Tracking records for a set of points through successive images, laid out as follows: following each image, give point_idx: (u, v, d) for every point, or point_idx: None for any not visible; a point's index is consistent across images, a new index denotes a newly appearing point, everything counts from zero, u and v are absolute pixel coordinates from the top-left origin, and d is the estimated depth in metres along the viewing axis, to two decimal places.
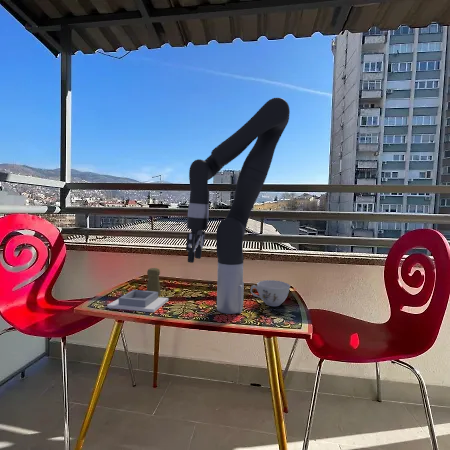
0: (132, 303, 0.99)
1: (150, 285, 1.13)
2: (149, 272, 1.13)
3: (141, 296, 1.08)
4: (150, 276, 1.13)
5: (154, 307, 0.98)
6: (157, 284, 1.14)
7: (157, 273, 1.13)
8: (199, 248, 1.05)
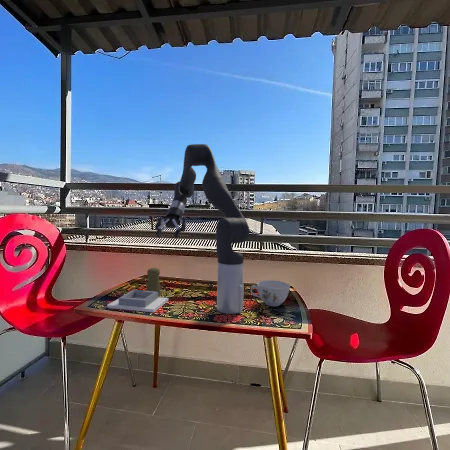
0: (132, 303, 0.99)
1: (150, 285, 1.13)
2: (149, 272, 1.13)
3: (141, 296, 1.08)
4: (150, 276, 1.13)
5: (154, 307, 0.98)
6: (157, 284, 1.14)
7: (157, 273, 1.13)
8: None
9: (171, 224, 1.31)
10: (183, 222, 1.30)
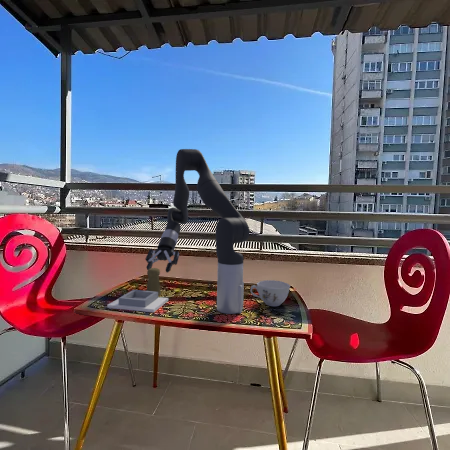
0: (132, 303, 0.99)
1: (150, 285, 1.13)
2: (149, 272, 1.13)
3: (141, 296, 1.08)
4: (150, 276, 1.13)
5: (154, 307, 0.98)
6: (157, 284, 1.14)
7: (157, 273, 1.13)
8: None
9: (163, 256, 1.22)
10: (175, 254, 1.22)
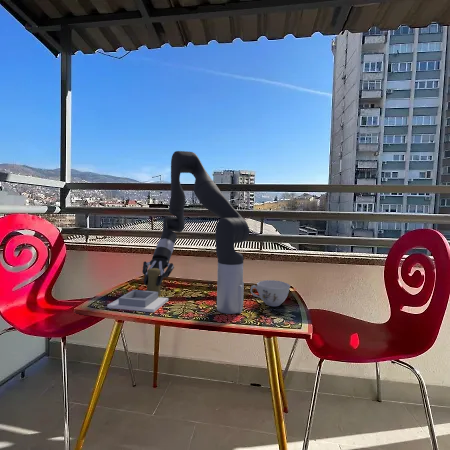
0: (132, 303, 0.99)
1: (150, 285, 1.13)
2: (149, 272, 1.13)
3: (141, 296, 1.08)
4: (150, 276, 1.13)
5: (154, 307, 0.98)
6: None
7: (157, 273, 1.13)
8: None
9: (156, 266, 1.18)
10: (169, 267, 1.17)
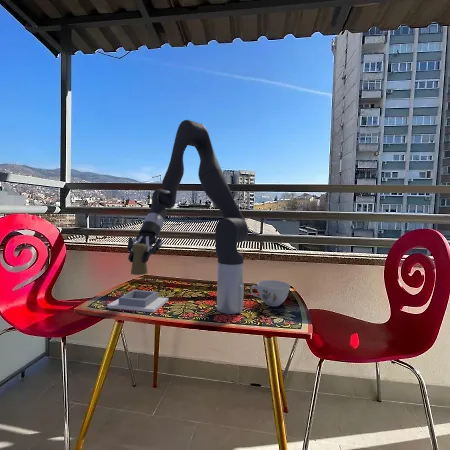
0: (132, 303, 0.99)
1: (136, 262, 1.01)
2: (134, 247, 1.00)
3: (141, 296, 1.08)
4: (135, 252, 1.01)
5: (154, 307, 0.98)
6: None
7: (143, 249, 1.01)
8: None
9: (143, 242, 1.05)
10: (157, 242, 1.04)
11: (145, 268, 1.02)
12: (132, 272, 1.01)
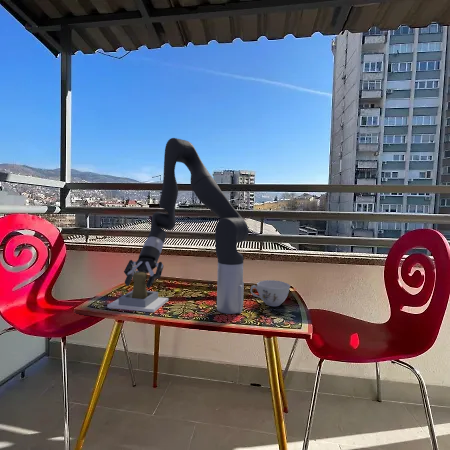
0: (132, 303, 0.99)
1: (136, 291, 1.01)
2: (134, 276, 1.01)
3: None
4: (136, 281, 1.01)
5: (154, 307, 0.98)
6: (143, 290, 1.02)
7: (143, 278, 1.02)
8: None
9: (144, 268, 1.06)
10: (159, 266, 1.05)
11: (145, 297, 1.03)
12: None
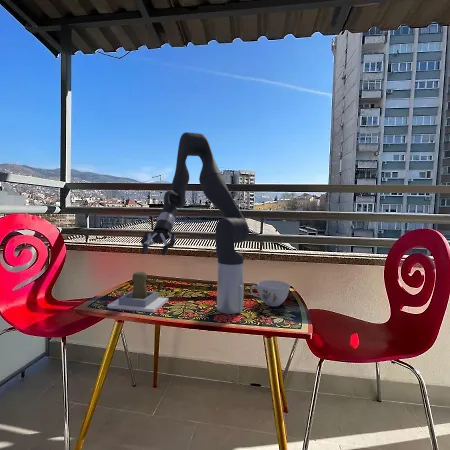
0: (132, 303, 0.99)
1: (136, 291, 1.01)
2: (134, 277, 1.01)
3: None
4: (135, 281, 1.01)
5: (154, 307, 0.98)
6: (143, 290, 1.02)
7: (143, 278, 1.02)
8: None
9: (159, 239, 1.18)
10: (172, 237, 1.17)
11: (145, 297, 1.03)
12: None
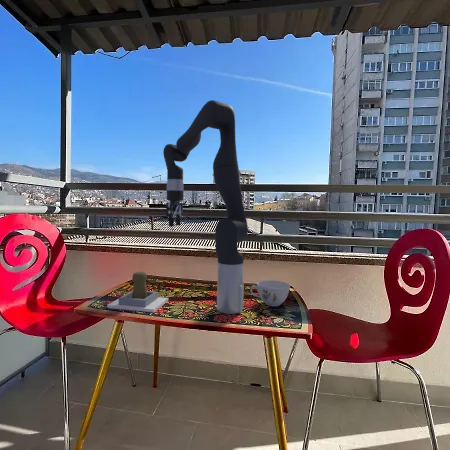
0: (132, 303, 0.99)
1: (136, 291, 1.01)
2: (134, 276, 1.01)
3: None
4: (135, 281, 1.01)
5: (154, 307, 0.98)
6: (143, 290, 1.02)
7: (143, 278, 1.02)
8: (178, 217, 1.29)
9: (177, 210, 1.26)
10: (182, 207, 1.31)
11: (145, 297, 1.03)
12: None
